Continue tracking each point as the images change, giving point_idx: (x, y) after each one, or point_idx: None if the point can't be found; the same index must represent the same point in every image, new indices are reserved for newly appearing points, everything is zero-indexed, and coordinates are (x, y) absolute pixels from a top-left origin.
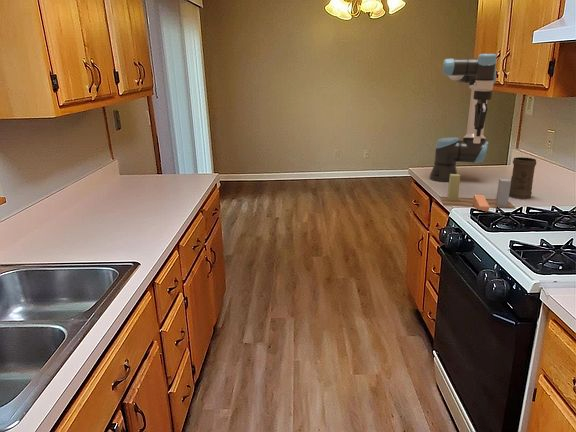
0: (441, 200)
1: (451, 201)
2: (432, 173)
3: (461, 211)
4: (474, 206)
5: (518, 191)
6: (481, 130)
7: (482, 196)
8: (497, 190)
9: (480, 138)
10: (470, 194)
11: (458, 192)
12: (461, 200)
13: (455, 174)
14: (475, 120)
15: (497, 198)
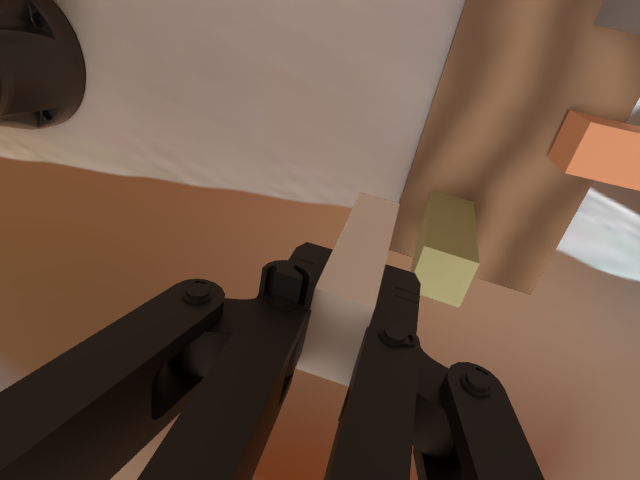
0: None
1: None
2: (25, 127)
3: (603, 239)
4: None
5: None
6: (376, 296)
7: (607, 137)
8: (623, 26)
9: (392, 232)
10: (317, 47)
11: (475, 220)
12: (466, 178)
13: (429, 269)
14: (148, 440)
15: (634, 31)
